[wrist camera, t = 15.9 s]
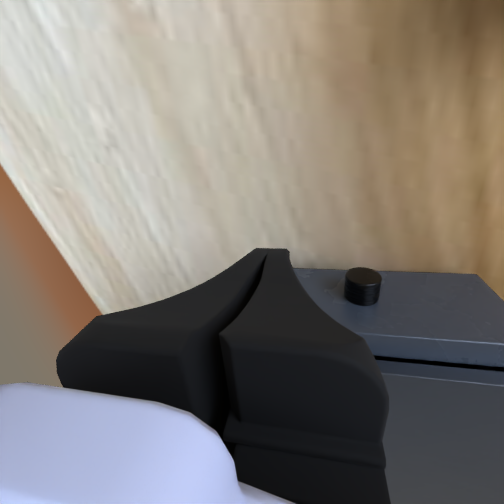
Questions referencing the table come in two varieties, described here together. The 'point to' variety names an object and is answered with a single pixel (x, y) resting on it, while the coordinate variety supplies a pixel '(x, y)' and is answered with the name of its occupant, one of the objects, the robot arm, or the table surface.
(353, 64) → the table surface
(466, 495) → the dark grey cabinet
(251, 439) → the robot arm
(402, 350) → the drawer
